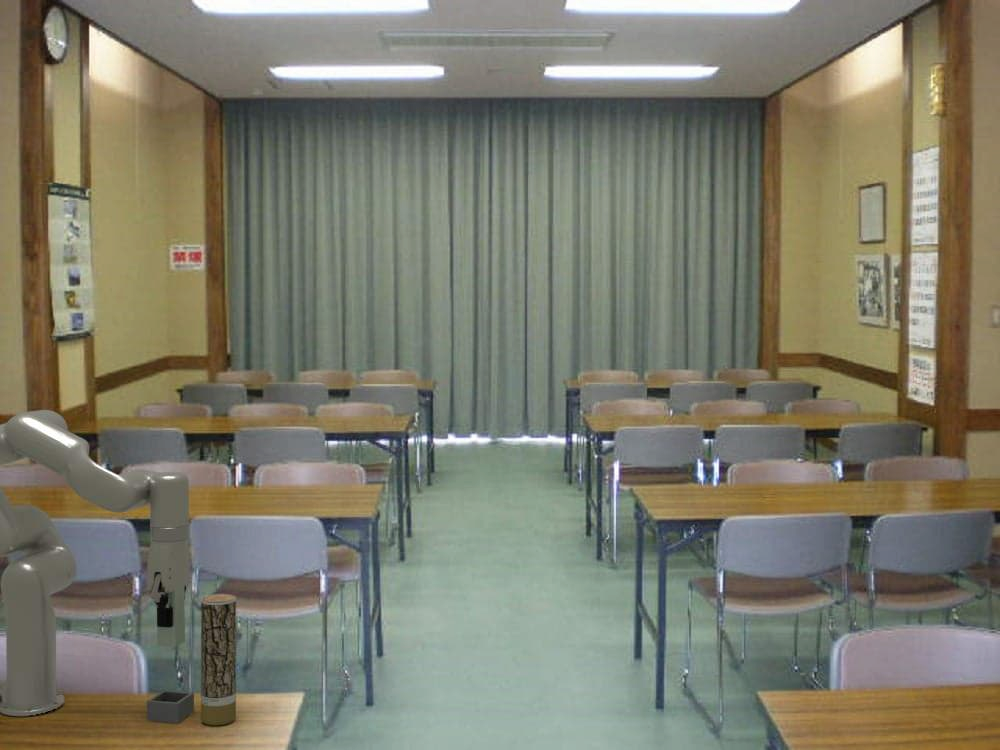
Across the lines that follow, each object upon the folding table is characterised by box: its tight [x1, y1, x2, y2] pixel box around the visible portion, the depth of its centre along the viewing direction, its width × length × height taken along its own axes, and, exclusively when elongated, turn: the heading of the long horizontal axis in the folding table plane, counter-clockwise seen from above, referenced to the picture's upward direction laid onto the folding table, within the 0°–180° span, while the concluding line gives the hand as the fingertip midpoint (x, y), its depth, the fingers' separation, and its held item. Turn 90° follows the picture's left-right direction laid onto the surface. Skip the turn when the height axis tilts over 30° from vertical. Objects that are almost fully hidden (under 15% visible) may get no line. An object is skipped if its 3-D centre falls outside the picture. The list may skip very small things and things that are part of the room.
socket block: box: [146, 689, 195, 725], centre depth 225 cm, size 7×7×4 cm
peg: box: [156, 586, 186, 648], centre depth 224 cm, size 4×4×12 cm
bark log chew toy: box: [200, 593, 237, 727], centre depth 222 cm, size 7×7×25 cm
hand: (170, 622), depth 224 cm, fingers closed on peg, 4 cm apart
